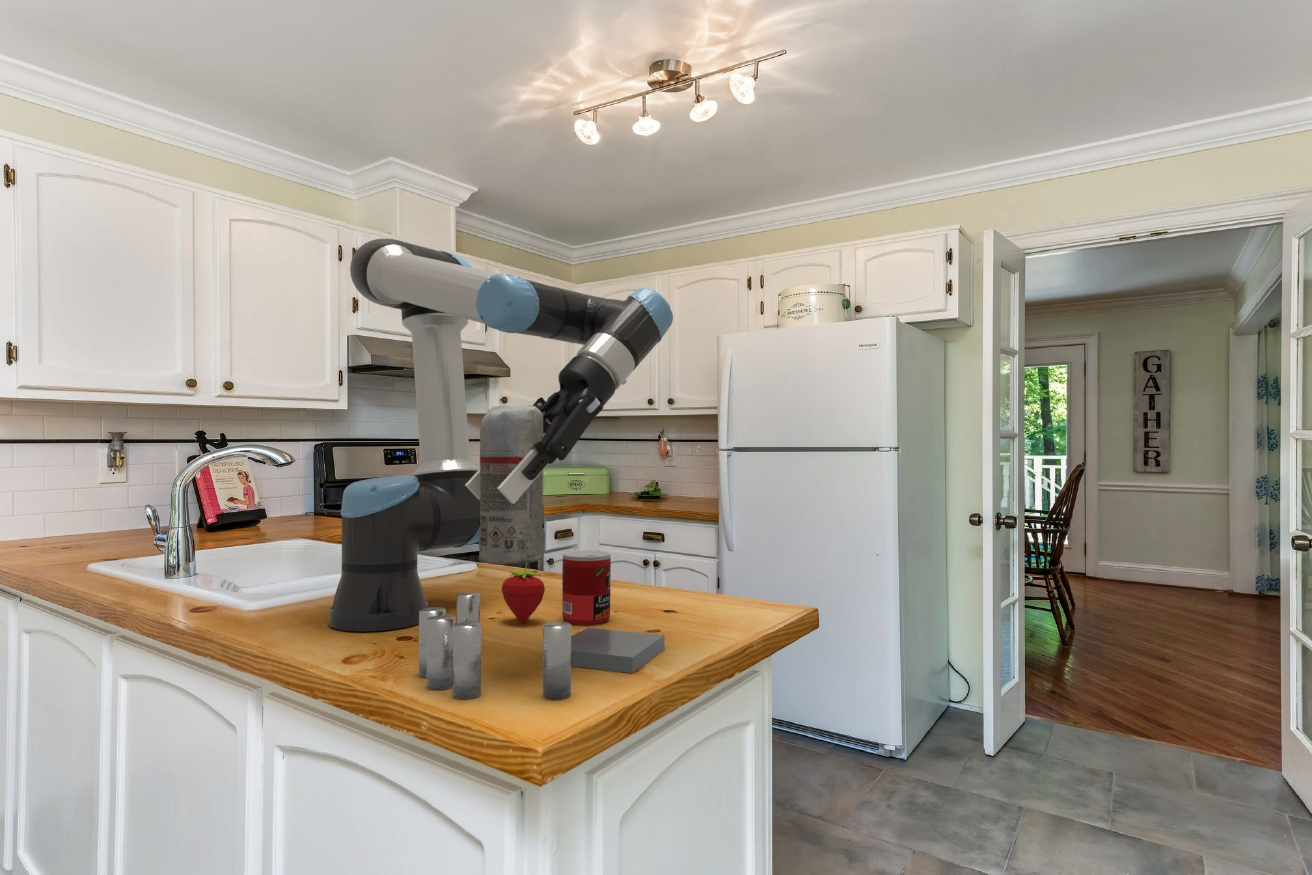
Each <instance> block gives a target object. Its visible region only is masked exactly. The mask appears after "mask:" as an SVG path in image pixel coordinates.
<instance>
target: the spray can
mask: <svg viewBox="0 0 1312 875" xmlns="http://www.w3.org/2000/svg"><path fill="white" fill-rule="evenodd" d="M543 437H544V434H543V414H542V412H541V411H540V410H539V409H538V408H537V407H535V406H533V405H531V404H530V405H519V406H518V405H516V406H511V405H510V406H509V405H508V406H500V405H499V406H498V405H494V406H491V407H490V408H489V409H488V410H487V412H486V413H485V415H484V416H483V418H482V420H481V424H480V431H479V469H480V491H481V493H480V522H481V524H480V533H479V542H478V547H479V552H478V553H479V556H478V557H477V559H478V561H479V562H481V563H486V564H492V565H493V564H496V565H513V564H514V565H515V564H519V565H520V564H529V563H533V562H534V563H535V562H538V561H541V560H542V559H543V557H544V555H543V553H542V552H543V522H544V521H543V518H544V517H543V514H544V512H543V511H544V509H543V507H544V470H543V471H542V472H541V473H540V474H539V476H538V477H537V478H536V479H535V480H534V481H533V483H532V484H531V485H530V486H529V487H528V488H527V490H526V491H525V492H524V493H523V494H522V495H521V497H520V498H519V499H518V500H517V501H516V502H515V504H512V503H510V502H509V500H508V499H507V498H506V497H505V496H504V495H503V494H502V493H501V492H500V491H499V490H498V489H497V488H498V487H499V486H500V484H501V483H502V482H503V481H504V480H505V479H506V478H507V476H508V475H509V474H510V473H511V472H512V471H513V470H514V469H515V467H516V466H517V465H518V464H519V463H520V462H521V461H522V459H523V458H524V457H525V456H526V455H527V454H528V453H529V452H530V450H535V452H536V453H538V451H537V450H536V449H535V447H534V446H533V444H535V443H537V442H540V441H541V440H542V439H543Z"/></svg>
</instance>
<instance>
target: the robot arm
mask: <svg viewBox="0 0 1312 875" xmlns="http://www.w3.org/2000/svg"><path fill="white" fill-rule="evenodd" d="M349 272H350V278H351V281H352V283H353V285H354V287H355V289H356V290H357V291H358V293H360V294H361V296H363V297H364V298H366V299H367V300H368V301H370V302H372V303H374V304H377V305H380V306H383V307H387V308H391V309H392V308H393V309H397V310H401V323H402V326H403V327H404V328H405V329H407V330H408V331H409V332H410V334H411V341H412V357H413V372H414V384H415V385H414V386H415V400H416V401H415V402H416V414H417V415H416V416H417V427H418V428H417V429H418V442H419V458H420V460H419V461H420V465H419V466H418V467H417V469H416V470H414V472H413V473H412V475H407V474H405V475H391V476H382V477H381V476H380V477H374V478H368V479H363V480H358V481H354V482H352V483H350V484H349V485H347V486H346V488H344V490H343V494H342V500H341V501H342V502H341V503H342V504H341V509H340V515H341V572H340V574H341V575H340V579H339V582H338V584H337V588H336V591H335V595H334V598H333V602H332V605H331V606H330V609H329V611H328V626H329V627H331V628H332V629H335V630H341V631H345V632H347V631H348V632H379V631H389V630H397V629H403V628H408V627H412V626H416V625H419V610H421V609H424V608H429V604H428V601H427V600H426V598H425V593H424V590H423V585H422V583H421V580H420V576H419V573H418V553H419V552H426V551H434V550H442V549H450V548H454V549H455V548H462V547H464V546H465V547H466V546H468V545H474V544H477V543H479V533H480V524H481V522H480V493H481V491H480V467H478V466H477V465H475V464H474V463H473V462H472V461H471V451H470V442H469V429H468V428H469V426H468V414H467V413H468V412H467V403H466V402H467V401H466V389H465V388H466V387H465V385H466V384H465V375H464V374H465V372H464V361H463V348H462V345H463V344H462V334H461V333H462V331H463V330H464V329H465V328H466V327H467V325H468V324H469V320H470V321H473V322H477V323H480V324H484V325H485V326H487V327H488V328H491V329H493V330H496V331H499V332H502V333H507V334H519V335H524V336H533V337H538V338H539V337H540V338H543V339H549V340H554V341H561V342H565V343H566V342H567V343H570V344H577V345H582V347H581V348H580V349H579V350H578V351H577V353H576V355H575V356H573V358H571V359H570V360H569V362H568V363H567V364H566V365H565V366H564V367H563V368H562V369H561V371H559V373H558V383H559V390H558V391H555V392H554V393H553V394H551V395H550V396H549V397H547V399H546V400H545V398H544V397H539V398H537V400H535V402H534V403H533V405H532V406H535V407H537V408H538V409H539V410H540V411H541V412H542V414H543V439H542V440H541V441H540V442H537V443H535V444H533V446H534V447H535V449H536V450H537V451H538V453H536V452H535V450H530V452H529V453H528V454H527V455H526V456H525V457H524V458H523V459H522V461H521V462H520V463H519V464H518V465H517V466H516V467H515V469H514V470H513V471H512V472H511V473H510V474H509V475H508V476H507V478H506V479H505V480H504V481H503V482H502V483H501V484H500V486H499V487H498V488H497V489H498V490H499V491H500V492H501V493H502V494H503V495H504V496H505V497H506V498H507V499H508V500H509V502H510V503H512V504H515V502H516V501H517V500H518V499H519V498H520V497H521V495H522V494H523V493H524V492H525V491H526V490H527V488H528V487H529V486H530V485H531V484H532V483H533V481H534V480H535V479H536V478H537V477H538V476H539V474H540V473H541V472H542V471H543V472H544V470H545V469H546V468H547V466H548V464H549V465H551V464H553V463H554V462H555V461H556V460H557V459H558V460H559V461H564V460H565V459H566V458H567V456H569V453H571V451H572V450H573V449H574V447H575V445H576V444H577V442H578V441H579V440H580V439H581V437H582V435H583V434H584V433H585V431H586V430H587V428H589V425H590V424H591V422H592V421H593V420H594V419H595V418H596V417H597V416H598V414H600V412H602V411H603V409H604V406H605V405H606V404H607V403H608V402H609V401H610V399H611V398H612V397H613V396H614V394H616V393H615V392H616V391H617V390H618V389H619V388H620V387H621V386H622V385H623V386H624V385H625V384H626V383H627V382H628V380H627V379H628V378H629V376H630V375H631V374H632V373H633V372H634V371H635V370H636V369H637V368H638V366H639V365H640V364H641V362H642V361H643V360H644V359H645V358H646V357H647V356H648V354H649V353H650V352H651V351H652V350H653V349H654V348H655V347H656V345H658V343H661V341H662V339H663V337H664V336H665V335H666V333H667V332H668V331H669V329H670V327H671V326H672V324H673V319H674V316H673V315H674V314H673V310H672V309H671V306H670V304H669V302H668V301H667V300H666V299H665V297H663V295H662V294H661V293H659V292H657V291H656V290H653V289H651V288H646V287H641V288H638V289H636V290H634V292H632V293H630V294H629V295H628V296H627V297H626V299H625V300H622V299H615V298H605V297H600V296H597V295H596V296H595V295H590V294H586V293H581V292H577V291H573V290H569V289H565V288H560V287H557V286H553V285H549V284H545V283H541V282H538V281H534V280H530V279H526V278H523V277H521V276H516V275H512V274H503V273H498V272H493V271H490V270H489V271H488V270H485V269H479V268H476V267H475V268H474V267H473V266H472V265H471V264H470V263H469V262H468V261H466V260H465V259H464V258H463V257H459V256H457V255H454V254H453V253H450V252H448V251H443V250H436V249H433V248H430V247H429V248H428V247H425V246H422V245H421V246H420V245H417V244H414V243H413V244H412V243H410V242H409V243H408V242H405V241H402V240H397V239H394V238H376V239H372V240H369V241H367V242H365V243H364V244H362V245H360V247H358V248H357V250H356V251H355V252H354V254H353V256H352V257H351V262H350V267H349ZM547 420H548V421H547Z"/></svg>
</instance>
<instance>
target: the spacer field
mask: <svg viewBox="0 0 1312 875" xmlns="http://www.w3.org/2000/svg"><path fill="white" fill-rule="evenodd" d="M455 596H456V602H455V603H456V604H455V608H456V611H455V612H456V613H455V616H454V615H449V614H447V612H446V611H447V609H446V608H445V607H439V606H438V607H437V606H436V607H435V606H434V607H428V608H424V609H421V610H419V624H418V676H419V677H420V678H423V679H426V688H427V689H428V690H433V691H442V690H443V691H444V690H448V689H451V688H452V690H451V691H452V697H453V698H454V699H458V700H470V699H475V698H479V697H480V696H481V695H482V643H483V642H482V641H483V640H482V631H483V630H482V629H483V628H482V622H481V617H480V616H481V593H480V592H478V591H464V592H458V593H456V595H455ZM542 626H543V628H542V637H543V638H542V697H543V698H544V699H547V700H550V701H551V700H553V701H554V700H555V701H556V700H565V699H568V698H569V697H571V695H572V690H571V689H572V684H571V683H572V666H571V636H572V624H570V623H566V622H565V621H552V622H546V623H544V624H543V625H542Z"/></svg>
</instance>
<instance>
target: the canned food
mask: <svg viewBox="0 0 1312 875" xmlns="http://www.w3.org/2000/svg"><path fill="white" fill-rule="evenodd" d="M611 558H612V557H611V553H610V552H607V551H603V550H602V551H601V550H572V551H566V552H564V553H563V554H562V569H561V570H562V574H561V575H562V578H561V579H562V584H561V585H562V593H561V594H562V595H561V596H562V599H561V600H562V604H561V605H562V607H561V608H562V615H561V616H562V618H563V622H566V623H570V624H571V625H574V626H597V625H602V624H605V623H607V622H609V620H610V618H611V582H612V581H611V580H612V579H611V574H612V573H611V571H612V569H611V568H612V562H611Z"/></svg>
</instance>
